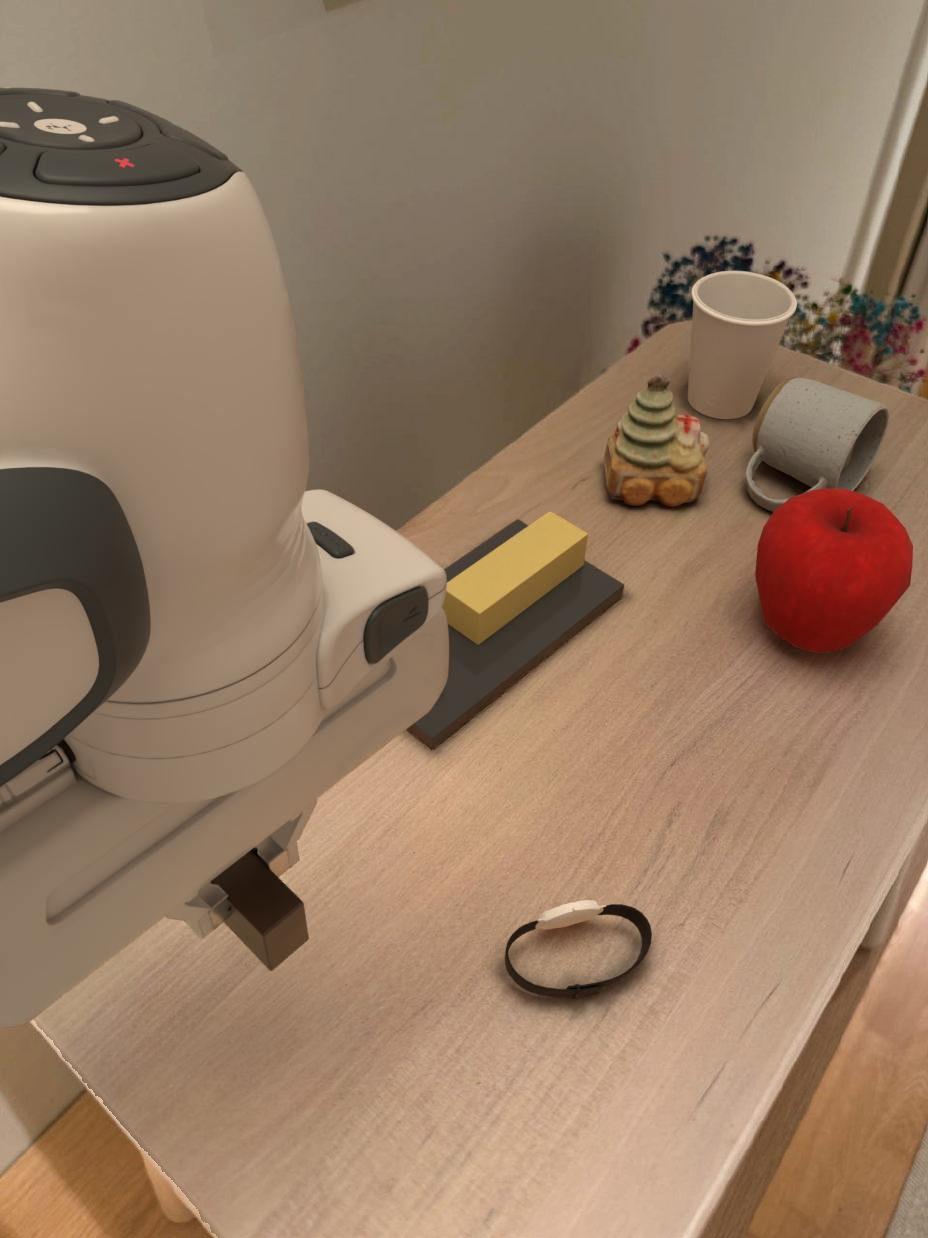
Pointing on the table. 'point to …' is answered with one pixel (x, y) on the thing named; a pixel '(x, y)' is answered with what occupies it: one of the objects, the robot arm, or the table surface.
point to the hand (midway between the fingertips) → (240, 888)
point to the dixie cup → (734, 339)
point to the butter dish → (511, 641)
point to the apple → (831, 568)
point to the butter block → (514, 576)
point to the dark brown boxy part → (263, 910)
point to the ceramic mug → (816, 437)
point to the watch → (574, 915)
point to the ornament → (656, 451)
